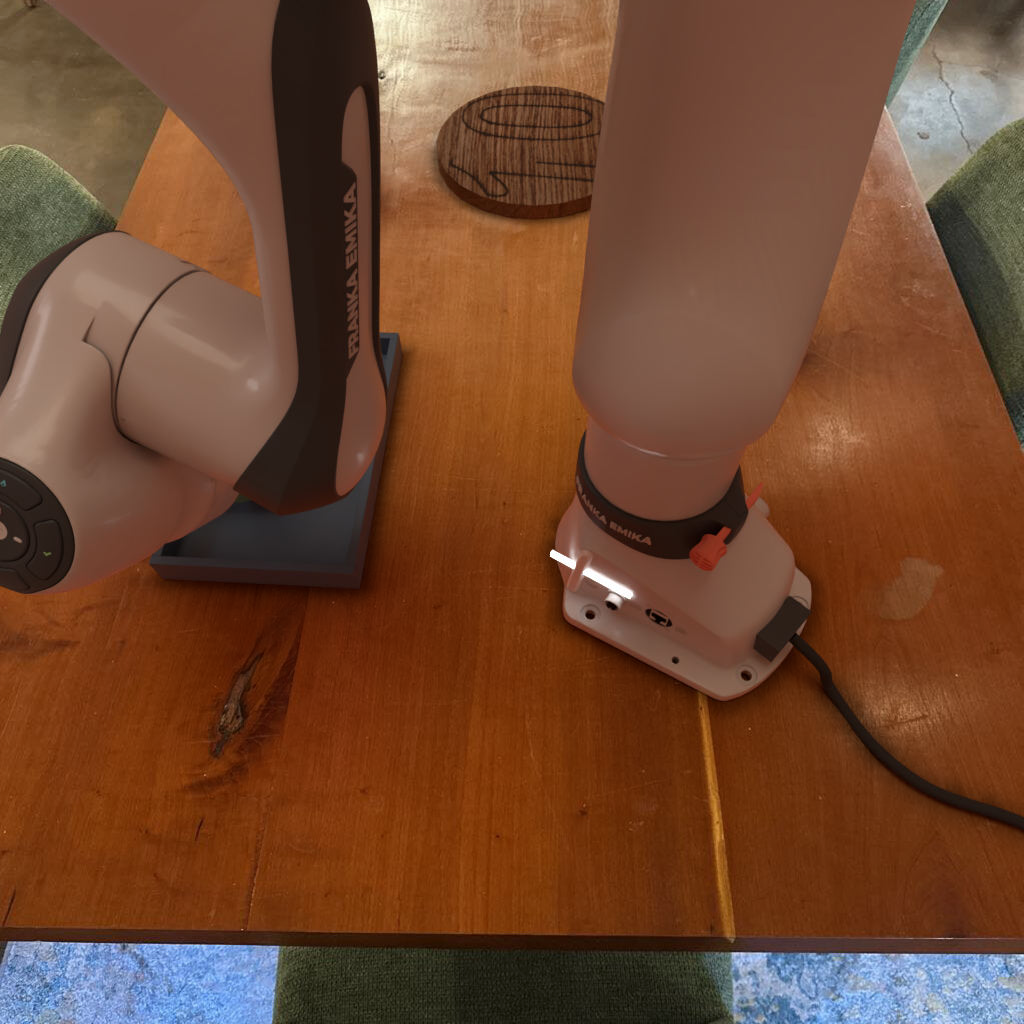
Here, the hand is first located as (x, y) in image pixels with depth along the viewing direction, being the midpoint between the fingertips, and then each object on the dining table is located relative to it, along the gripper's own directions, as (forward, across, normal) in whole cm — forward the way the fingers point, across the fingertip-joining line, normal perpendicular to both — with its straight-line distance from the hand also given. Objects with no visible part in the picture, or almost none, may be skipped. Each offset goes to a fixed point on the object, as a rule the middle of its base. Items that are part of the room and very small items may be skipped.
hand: (251, 435), depth 63 cm
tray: (+10, 0, +4) cm, 11 cm away
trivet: (+45, -21, -31) cm, 58 cm away
